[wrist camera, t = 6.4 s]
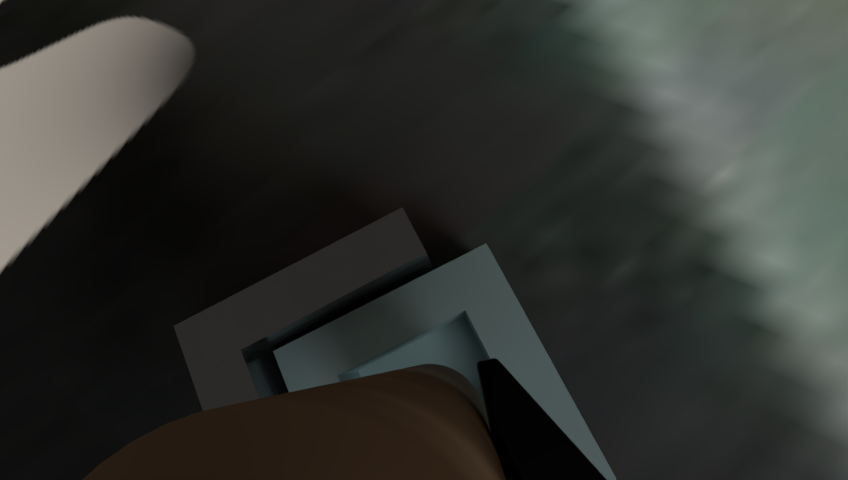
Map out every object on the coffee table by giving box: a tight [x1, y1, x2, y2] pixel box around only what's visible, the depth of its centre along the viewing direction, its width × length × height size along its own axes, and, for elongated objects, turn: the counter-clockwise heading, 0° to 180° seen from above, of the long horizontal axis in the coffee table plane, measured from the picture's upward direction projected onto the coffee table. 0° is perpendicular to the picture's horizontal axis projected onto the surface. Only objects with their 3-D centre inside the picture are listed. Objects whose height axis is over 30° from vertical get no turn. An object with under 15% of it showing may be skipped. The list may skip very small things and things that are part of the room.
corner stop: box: [174, 207, 433, 411], centre depth 18 cm, size 17×10×6 cm, turn 27°
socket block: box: [273, 244, 616, 480], centre depth 19 cm, size 10×10×4 cm
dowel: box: [83, 364, 506, 480], centre depth 9 cm, size 4×4×13 cm
